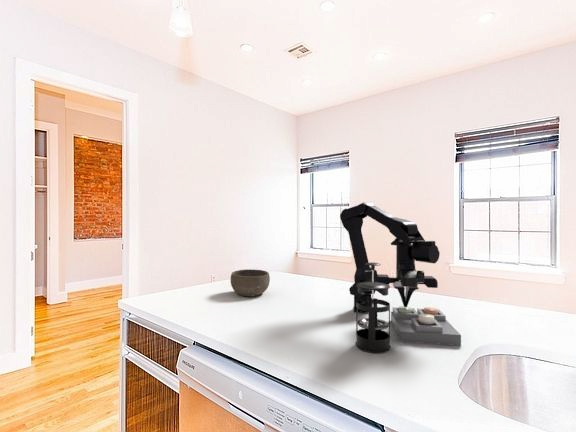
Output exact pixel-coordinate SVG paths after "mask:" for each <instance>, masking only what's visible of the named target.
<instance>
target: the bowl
mask: <svg viewBox="0 0 576 432" xmlns="http://www.w3.org/2000/svg"><path fill="white" fill-rule="evenodd" d="M270 280H271V277H270V272H269V271H266V270H262V269H251V268H250V269H247V268H246V269H239V270H235V271H232V272H231V274H230V285H231V287H232V289H233V291H234V292H235V294H237V295H239V296H242V297H255V296H260V295H263V293H265V291H266V290H267V289H268V288H269V285H270Z"/></svg>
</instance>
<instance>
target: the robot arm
mask: <svg viewBox="0 0 576 432" xmlns="http://www.w3.org/2000/svg"><path fill="white" fill-rule="evenodd" d="M367 217H369V218H371V219H373V220H374V221H375V222H377V223H379V224H381V225H382V226H384V227H385V228H387V230H388V231H389V233H390V234H391V235H392V236H394V240H393V241H392V242H391V243H390V245H391V246H396V247H395V248H396V255H395V256H396V257H395V258H396V259H395V260H396V263H395V264H396V265H395V266H396V268H395V269H396V270H395V271H396V272H395V273H396V274H395V277H393V276H392V277H390V276H389V275H388V274H383V273H382V274H381V273H380V274H378V271H377V269H375V270H374V282H379V283H384V284H388V285H389V286H390V284H392V286H393V287H394V289H396V290H397V291H398V293H399V297H400V299H401V302H402V306H404V307H408V306H409V302H410V300H411V298H412V297H411V296H413V293H414V292H416V290H419V287H418V285H424V286H426V287H427V288H431V289H437V288H439V283H438V280H437V278H435V277H434V276H432V275H425V271H424V270H417V269H416V264H415V263H416V262H420V263H428V264H436V263H437V262H438V261H439V258H440V253H441V251H440V250H439V247H438V246H437V245H436V241H435V240H426V239H424V237H423V235H422V234H421V232H420V231H419V227H418V225H417V224H416V223H415V222H414V221H412V220H407V219H403V218H399V217H397V216H394V215H392V214H391V213H389V212H387V211H385V210H383V209H382V208H380V207H378V206H376V205H375V204H373V203H372V202H362V203H359V204H358V205H355V206H352V207H349V208H344V209H342V210H341V212H340V214H339V218H340V221H341V223H342V226H343V228H344V229H345V230H346V231H347V233H348V238H349V241H350V246H351V250H352V255H353V259H354V264H355V268H356V269H355V272H354V276H353V279H354V283H352V285H351V286H350V287H349V289H348V290H349V294H350V295H351V296H353V312H354V313H356V301H357V300H360V299H371V298H372V290H367V291H365V292H364V293H362V294H359V293H358V287H357V286H356V284H357V283H360V282H372V270H371V266H370V265H365V264H366V263H370V262H369V258H368V253H367V250H366V244H365V241H364V237H363V234H362V233H363V232H362V227H363V223H364V220H363V219H365V218H367ZM415 261H416V262H415ZM375 293H376V291H375V290H374V295H375ZM360 305H363V306H367V307H371V303H365V304H360ZM358 313H364V314H368V312H367V311H362V310H360V309H358Z"/></svg>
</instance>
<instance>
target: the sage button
mask: <svg viewBox="0 0 576 432" xmlns="http://www.w3.org/2000/svg"><path fill="white" fill-rule="evenodd" d="M397 308H398V313H412V307H411V306H407V307H404V305H401V306H398V307H397Z"/></svg>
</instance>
